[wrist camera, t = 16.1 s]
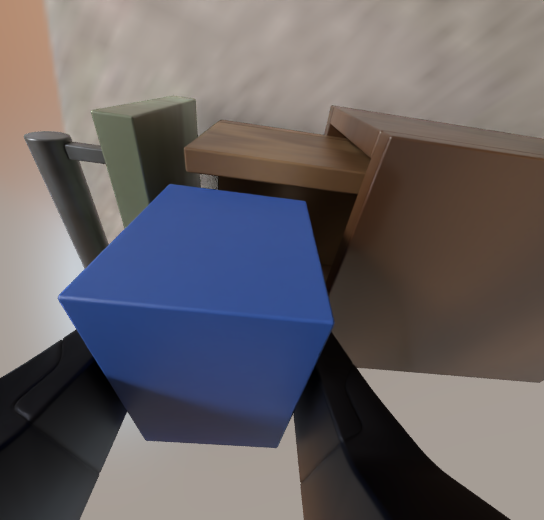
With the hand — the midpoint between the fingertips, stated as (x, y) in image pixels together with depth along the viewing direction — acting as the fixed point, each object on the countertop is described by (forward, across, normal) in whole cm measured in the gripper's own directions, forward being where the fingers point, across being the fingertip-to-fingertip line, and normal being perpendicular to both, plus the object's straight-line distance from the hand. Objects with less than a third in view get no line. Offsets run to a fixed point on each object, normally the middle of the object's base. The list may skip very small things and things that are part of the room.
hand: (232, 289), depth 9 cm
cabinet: (+9, -11, 0) cm, 14 cm away
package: (+1, 0, 0) cm, 1 cm away
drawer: (+8, 0, 0) cm, 8 cm away
